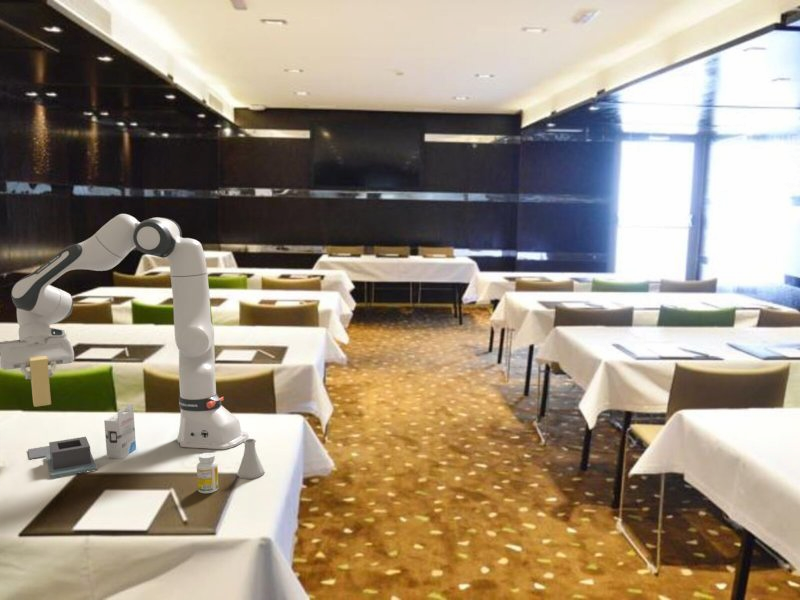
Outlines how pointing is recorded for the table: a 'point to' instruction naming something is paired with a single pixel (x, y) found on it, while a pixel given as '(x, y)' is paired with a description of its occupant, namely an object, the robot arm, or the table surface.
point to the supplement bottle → (207, 473)
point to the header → (70, 453)
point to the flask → (250, 462)
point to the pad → (39, 452)
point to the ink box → (120, 433)
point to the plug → (40, 381)
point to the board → (70, 468)
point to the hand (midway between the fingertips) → (39, 376)
